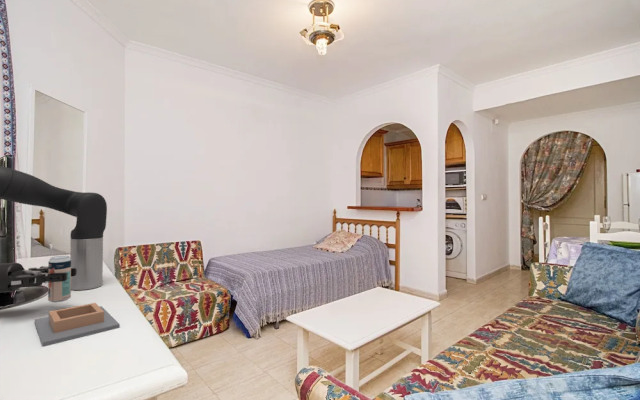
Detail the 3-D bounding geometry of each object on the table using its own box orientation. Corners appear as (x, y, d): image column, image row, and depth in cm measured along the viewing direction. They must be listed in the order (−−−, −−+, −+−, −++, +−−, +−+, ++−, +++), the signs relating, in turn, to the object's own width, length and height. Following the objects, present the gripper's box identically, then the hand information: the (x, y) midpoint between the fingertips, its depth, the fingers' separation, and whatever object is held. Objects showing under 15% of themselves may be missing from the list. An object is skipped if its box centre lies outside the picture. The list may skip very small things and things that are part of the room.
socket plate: (34, 322, 78) (34, 309, 78) (101, 309, 88) (101, 297, 88) (42, 346, 66) (42, 330, 66) (119, 327, 76) (119, 313, 76)
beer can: (52, 298, 87) (52, 255, 87) (73, 296, 89) (73, 254, 89) (45, 304, 83) (45, 259, 83) (67, 302, 85) (67, 258, 85)
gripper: (-27, 270, 75) (58, 266, 80) (12, 258, 89) (83, 256, 94) (-27, 301, 75) (58, 295, 80) (12, 284, 89) (83, 281, 94)
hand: (71, 274), depth 87 cm, fingers closed on beer can, 4 cm apart
